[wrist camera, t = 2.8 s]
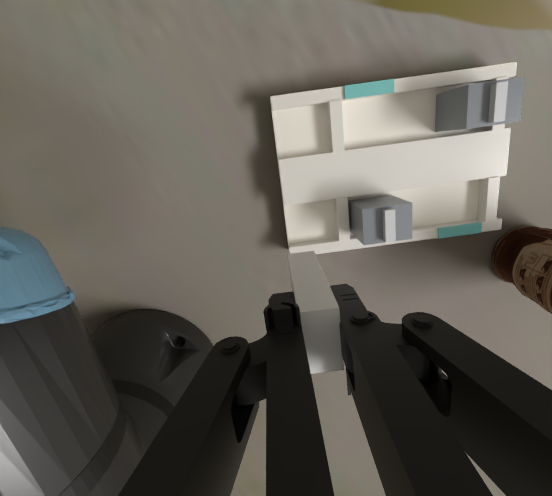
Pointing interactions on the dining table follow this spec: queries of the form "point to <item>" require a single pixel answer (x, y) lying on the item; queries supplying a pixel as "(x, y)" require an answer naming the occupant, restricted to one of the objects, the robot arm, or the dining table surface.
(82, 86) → the dining table surface
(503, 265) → the coffee cup
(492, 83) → the tab
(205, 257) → the dining table surface
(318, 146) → the switch bank
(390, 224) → the tab
